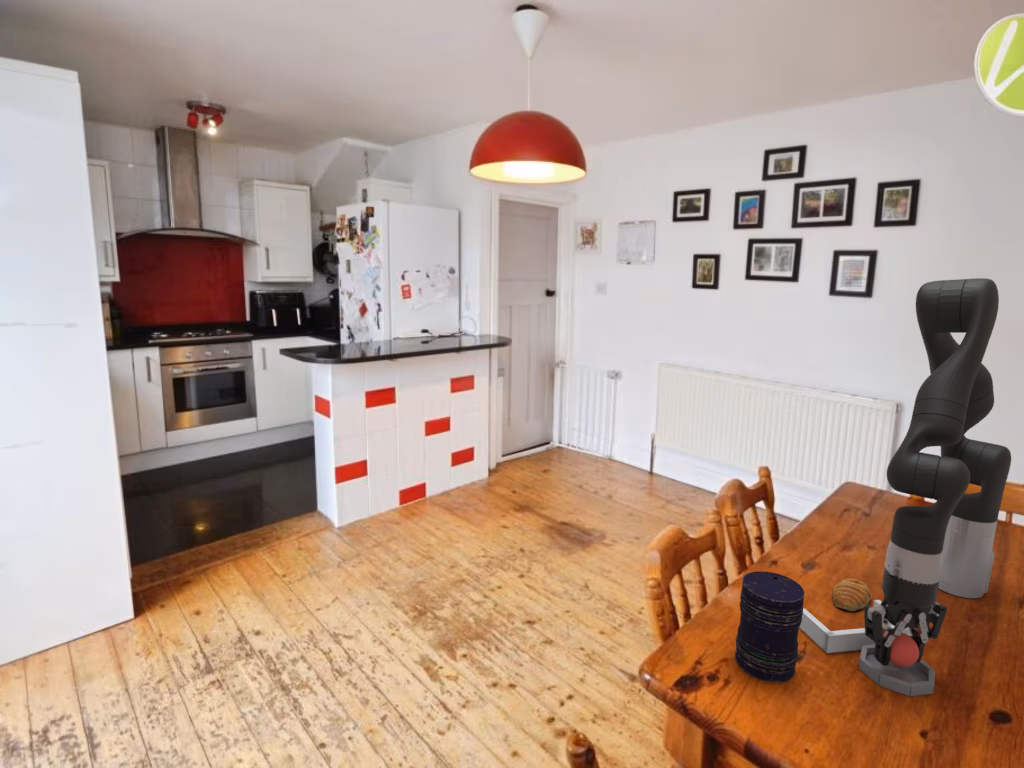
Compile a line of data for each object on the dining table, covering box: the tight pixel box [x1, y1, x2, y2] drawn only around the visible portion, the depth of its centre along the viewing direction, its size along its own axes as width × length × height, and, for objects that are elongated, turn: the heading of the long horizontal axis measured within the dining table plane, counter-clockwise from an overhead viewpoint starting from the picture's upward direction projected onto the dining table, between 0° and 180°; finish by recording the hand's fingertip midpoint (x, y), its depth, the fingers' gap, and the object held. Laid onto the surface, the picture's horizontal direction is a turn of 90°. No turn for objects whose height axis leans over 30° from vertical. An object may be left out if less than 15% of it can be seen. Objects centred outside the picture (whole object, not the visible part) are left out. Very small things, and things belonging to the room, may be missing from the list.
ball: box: [884, 632, 919, 667], centre depth 97 cm, size 6×6×6 cm
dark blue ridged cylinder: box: [734, 570, 805, 684], centre depth 99 cm, size 10×10×15 cm
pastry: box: [832, 577, 873, 612], centre depth 119 cm, size 9×7×4 cm
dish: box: [858, 644, 936, 697], centre depth 98 cm, size 10×10×2 cm
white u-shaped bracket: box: [799, 599, 912, 654], centre depth 108 cm, size 18×9×4 cm, turn 99°
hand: (897, 660), depth 97 cm, fingers closed on ball, 5 cm apart
